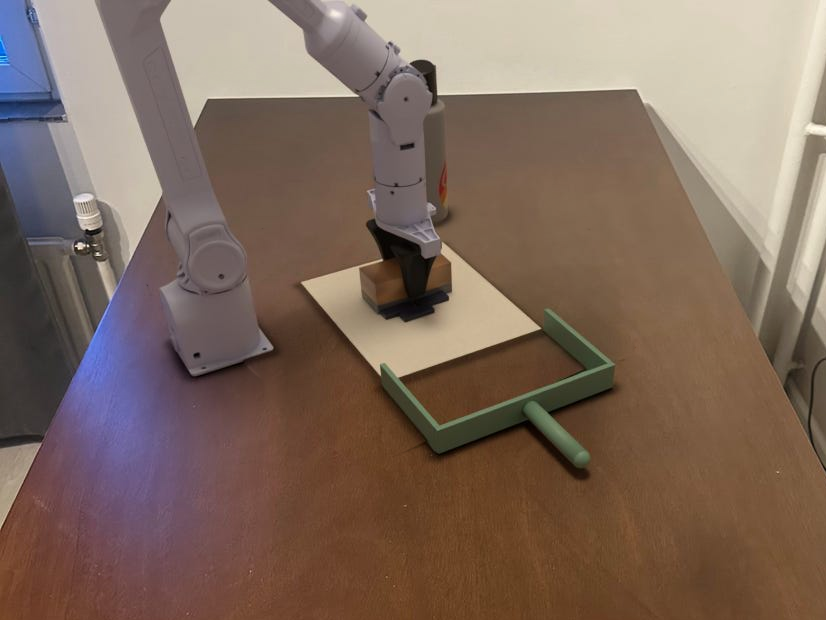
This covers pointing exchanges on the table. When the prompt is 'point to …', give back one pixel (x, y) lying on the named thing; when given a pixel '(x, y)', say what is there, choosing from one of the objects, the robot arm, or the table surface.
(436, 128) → the lotion bottle
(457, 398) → the table surface
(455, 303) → the cream rectangular board
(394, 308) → the stroke
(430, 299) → the stroke
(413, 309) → the stroke
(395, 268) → the eraser
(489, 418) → the green handled pusher frame
